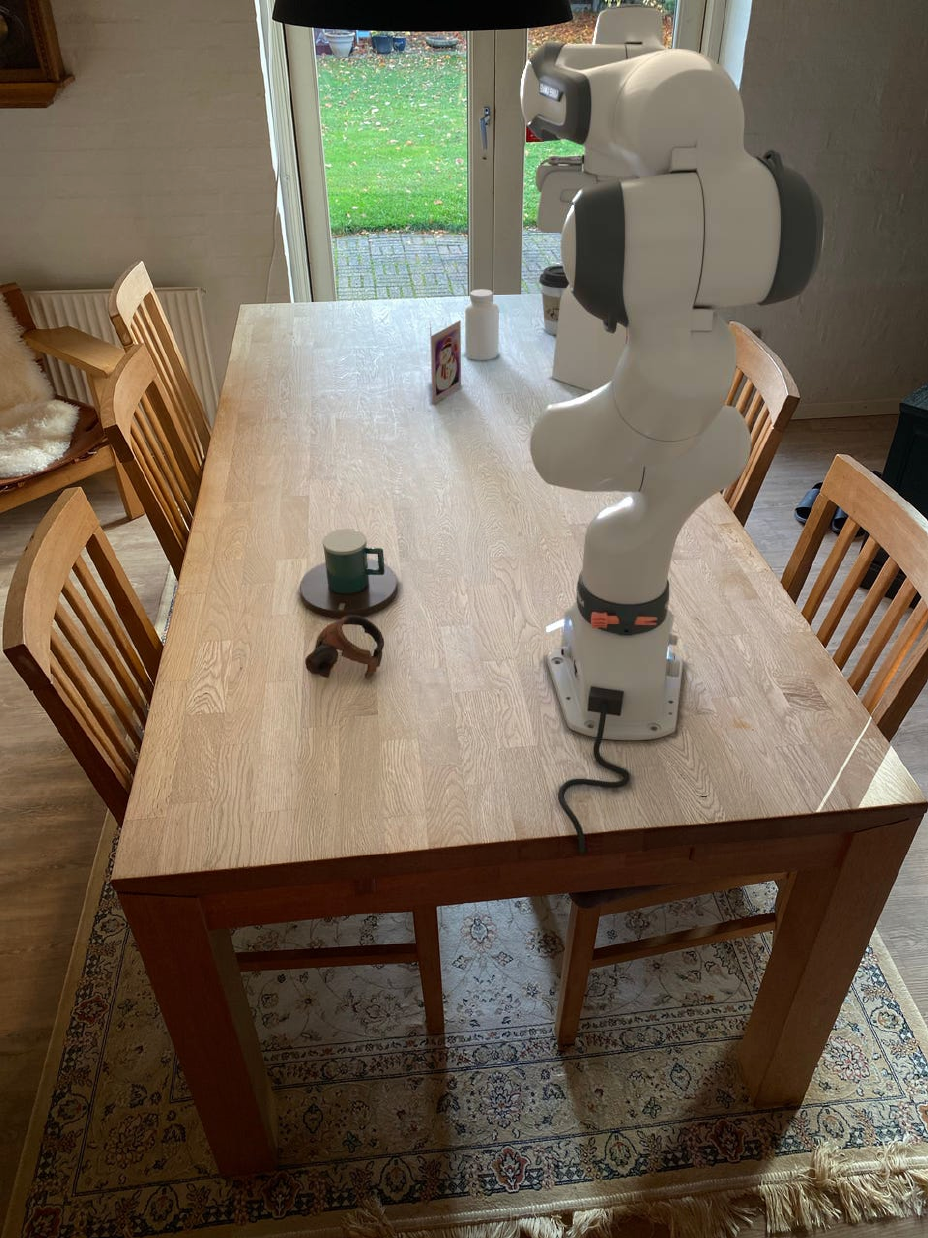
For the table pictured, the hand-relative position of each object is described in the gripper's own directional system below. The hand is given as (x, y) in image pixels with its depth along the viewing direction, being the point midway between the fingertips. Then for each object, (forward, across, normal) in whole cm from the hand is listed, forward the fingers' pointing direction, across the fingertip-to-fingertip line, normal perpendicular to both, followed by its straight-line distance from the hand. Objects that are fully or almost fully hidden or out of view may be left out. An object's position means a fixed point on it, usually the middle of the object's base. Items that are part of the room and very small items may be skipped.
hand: (608, 266), depth 128 cm
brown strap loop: (+46, -35, -32) cm, 66 cm away
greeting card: (+45, -30, +65) cm, 85 cm away
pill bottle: (+45, -22, +88) cm, 101 cm away
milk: (+45, +4, +75) cm, 87 cm away
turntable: (+46, -37, -13) cm, 61 cm away
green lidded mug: (+44, -36, -13) cm, 59 cm away
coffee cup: (+45, -3, +106) cm, 115 cm away
